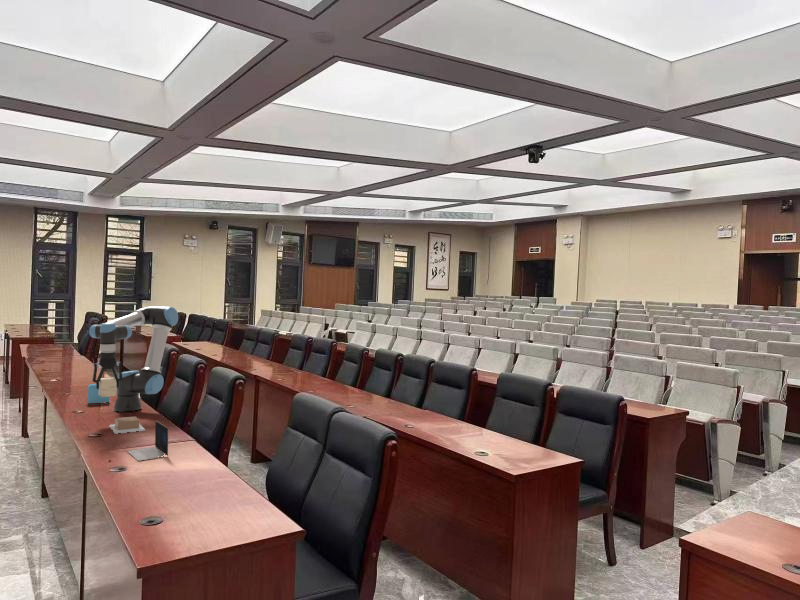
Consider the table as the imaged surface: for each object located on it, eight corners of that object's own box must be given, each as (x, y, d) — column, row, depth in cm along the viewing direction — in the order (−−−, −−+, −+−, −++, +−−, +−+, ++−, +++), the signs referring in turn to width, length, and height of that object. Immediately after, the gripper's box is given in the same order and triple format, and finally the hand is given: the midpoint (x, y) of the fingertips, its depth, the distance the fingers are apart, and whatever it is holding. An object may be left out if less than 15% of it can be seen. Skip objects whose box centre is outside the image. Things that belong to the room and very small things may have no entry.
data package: (109, 402, 377) (109, 383, 377) (109, 403, 373) (109, 384, 373) (87, 403, 371) (88, 384, 371) (88, 404, 367) (88, 385, 367)
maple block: (99, 394, 320) (99, 378, 319) (113, 393, 324) (113, 377, 323) (101, 397, 314) (101, 380, 314) (115, 395, 318) (115, 379, 318)
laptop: (127, 452, 265) (127, 423, 265) (156, 448, 273) (156, 420, 273) (138, 462, 251) (138, 431, 251) (168, 457, 259) (168, 428, 259)
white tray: (109, 426, 311) (109, 417, 311) (138, 423, 319) (138, 414, 319) (114, 434, 296) (115, 424, 296) (144, 430, 304) (144, 421, 304)
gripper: (126, 350, 327) (126, 391, 327) (86, 352, 316) (85, 394, 316) (129, 351, 321) (128, 393, 321) (87, 353, 309) (87, 397, 310)
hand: (107, 394), depth 319 cm, fingers closed on maple block, 7 cm apart
